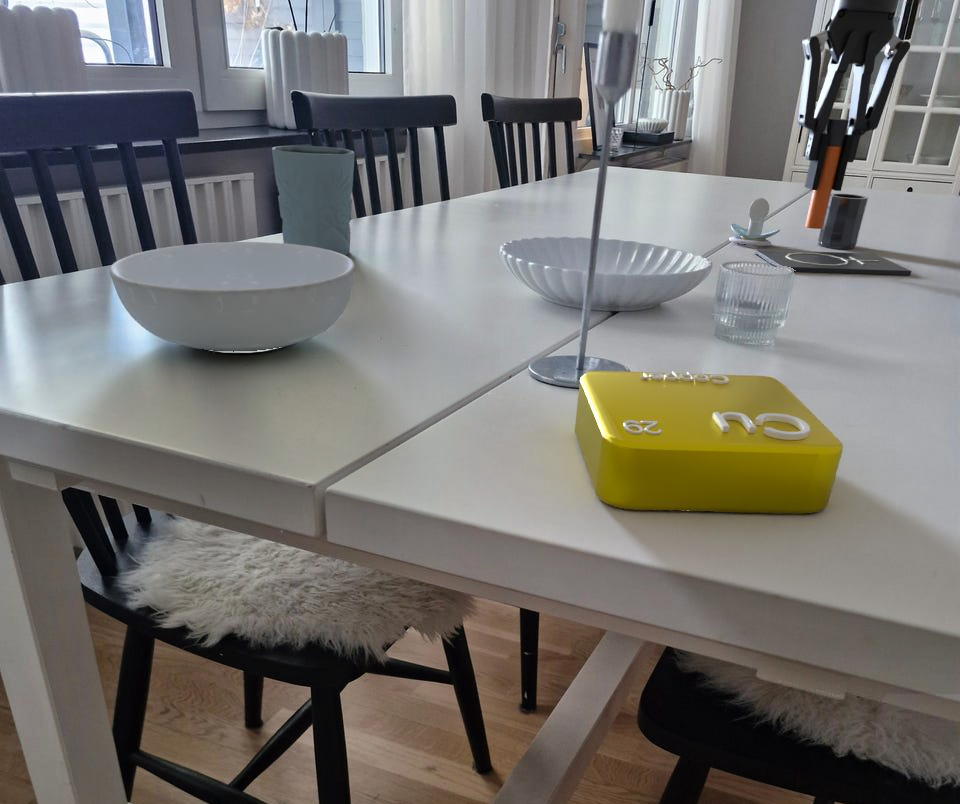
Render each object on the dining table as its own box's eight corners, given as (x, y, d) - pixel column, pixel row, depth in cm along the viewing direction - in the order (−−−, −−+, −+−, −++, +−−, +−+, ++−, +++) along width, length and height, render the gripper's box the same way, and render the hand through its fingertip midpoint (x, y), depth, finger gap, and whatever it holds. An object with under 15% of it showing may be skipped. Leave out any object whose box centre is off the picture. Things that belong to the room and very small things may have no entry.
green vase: (263, 251, 117) (254, 147, 111) (317, 241, 124) (311, 143, 118) (320, 263, 113) (315, 155, 106) (373, 252, 120) (370, 150, 113)
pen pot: (846, 243, 141) (858, 194, 138) (861, 249, 137) (874, 199, 133) (812, 241, 141) (823, 192, 137) (825, 248, 136) (837, 198, 132)
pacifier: (769, 250, 134) (779, 244, 138) (778, 205, 130) (788, 199, 134) (721, 244, 136) (732, 238, 141) (729, 199, 133) (740, 194, 137)
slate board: (873, 257, 132) (874, 252, 131) (910, 275, 122) (912, 270, 121) (754, 253, 130) (755, 248, 130) (781, 271, 120) (782, 265, 120)
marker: (819, 226, 125) (844, 119, 118) (826, 229, 123) (852, 120, 116) (801, 225, 125) (825, 118, 118) (808, 228, 123) (832, 119, 116)
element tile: (765, 430, 68) (779, 368, 66) (836, 517, 56) (857, 444, 53) (570, 425, 68) (577, 361, 65) (599, 511, 55) (608, 437, 53)
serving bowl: (249, 302, 95) (242, 232, 91) (402, 340, 85) (401, 263, 81) (74, 342, 80) (57, 260, 76) (234, 393, 71) (224, 302, 67)
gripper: (919, -22, 112) (866, 187, 125) (798, -29, 111) (757, 182, 124) (949, -25, 106) (890, 195, 119) (821, -33, 105) (775, 190, 118)
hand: (822, 188), depth 121 cm, fingers closed on marker, 3 cm apart
